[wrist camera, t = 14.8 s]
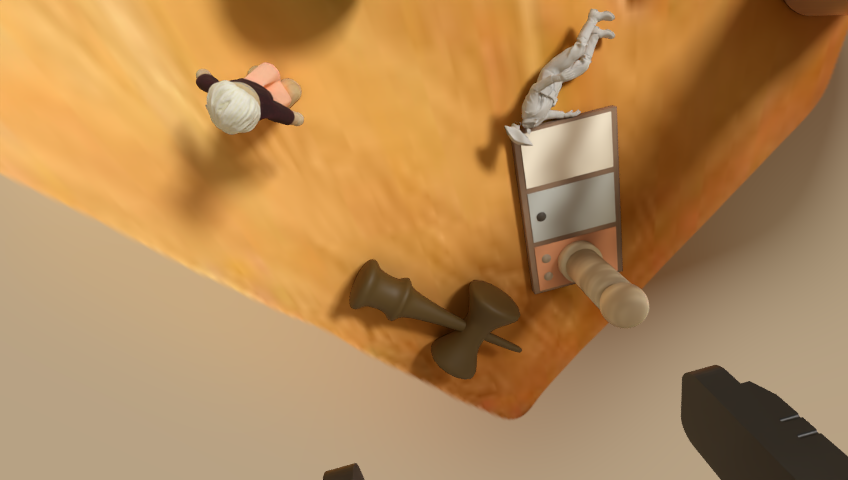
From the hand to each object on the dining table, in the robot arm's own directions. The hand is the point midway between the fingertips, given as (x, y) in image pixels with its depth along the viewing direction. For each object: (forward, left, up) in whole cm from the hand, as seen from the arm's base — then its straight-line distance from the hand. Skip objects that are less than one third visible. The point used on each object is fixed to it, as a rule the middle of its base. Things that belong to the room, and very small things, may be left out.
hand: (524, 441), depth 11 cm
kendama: (0, +19, -35) cm, 39 cm away
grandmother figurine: (+10, -7, -34) cm, 37 cm away
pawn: (-15, +17, -33) cm, 40 cm away
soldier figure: (-14, -2, -35) cm, 37 cm away
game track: (-15, +11, -34) cm, 39 cm away
